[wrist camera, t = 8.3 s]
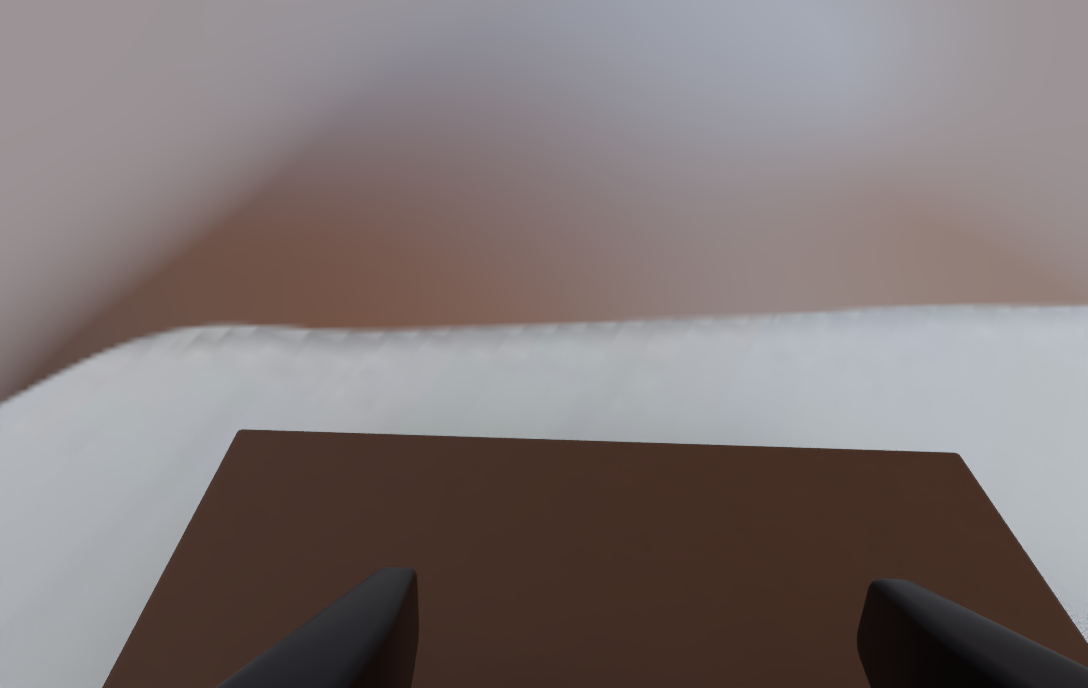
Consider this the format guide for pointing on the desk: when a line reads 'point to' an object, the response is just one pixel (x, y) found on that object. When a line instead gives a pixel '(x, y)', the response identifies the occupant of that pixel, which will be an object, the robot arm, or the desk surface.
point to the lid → (582, 558)
